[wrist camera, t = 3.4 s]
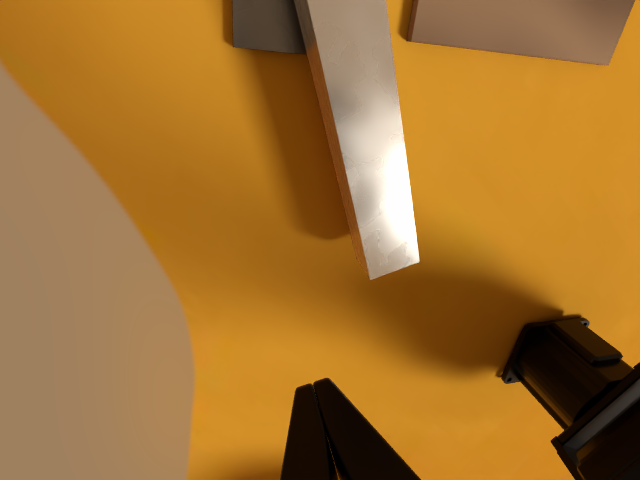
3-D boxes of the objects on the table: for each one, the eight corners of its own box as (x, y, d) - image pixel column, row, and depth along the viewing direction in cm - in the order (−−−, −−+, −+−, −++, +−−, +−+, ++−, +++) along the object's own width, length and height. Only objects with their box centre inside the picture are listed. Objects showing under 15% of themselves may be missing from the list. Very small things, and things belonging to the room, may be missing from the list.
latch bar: (260, -114, 12) (269, -147, 10) (347, -137, 13) (373, -173, 10) (353, 259, 21) (368, 283, 18) (404, 241, 21) (424, 262, 19)
